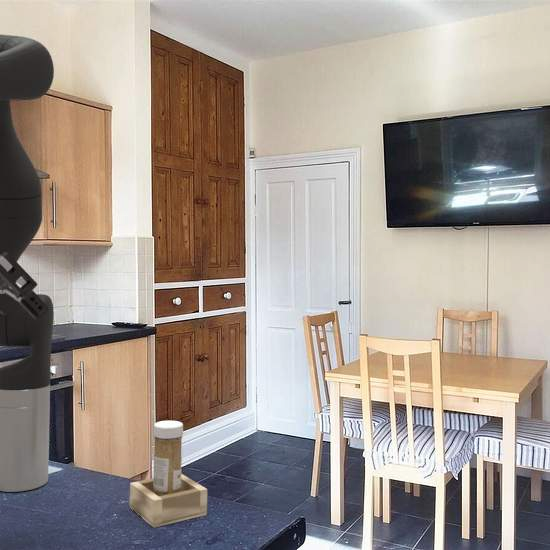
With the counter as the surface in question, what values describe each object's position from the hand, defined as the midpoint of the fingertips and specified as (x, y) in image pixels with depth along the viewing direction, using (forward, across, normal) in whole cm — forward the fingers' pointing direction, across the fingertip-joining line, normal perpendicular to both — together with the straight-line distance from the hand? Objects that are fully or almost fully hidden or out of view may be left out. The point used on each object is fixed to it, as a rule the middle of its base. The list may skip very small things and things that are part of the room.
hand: (26, 312), depth 85 cm
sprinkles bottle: (+37, -7, +8) cm, 38 cm away
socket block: (+37, -7, +8) cm, 39 cm away
